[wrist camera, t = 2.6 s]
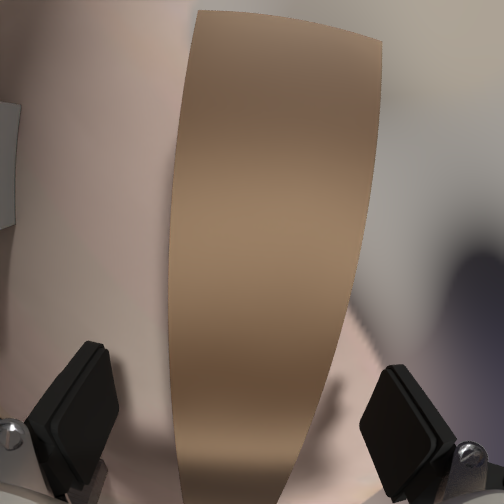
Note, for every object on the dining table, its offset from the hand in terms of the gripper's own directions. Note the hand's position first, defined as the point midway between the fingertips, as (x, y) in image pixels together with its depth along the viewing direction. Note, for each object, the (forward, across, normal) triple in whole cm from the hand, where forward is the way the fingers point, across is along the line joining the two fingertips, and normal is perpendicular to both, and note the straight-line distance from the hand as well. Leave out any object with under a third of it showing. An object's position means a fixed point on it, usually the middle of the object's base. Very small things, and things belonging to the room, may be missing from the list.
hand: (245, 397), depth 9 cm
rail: (+3, 0, 0) cm, 3 cm away
